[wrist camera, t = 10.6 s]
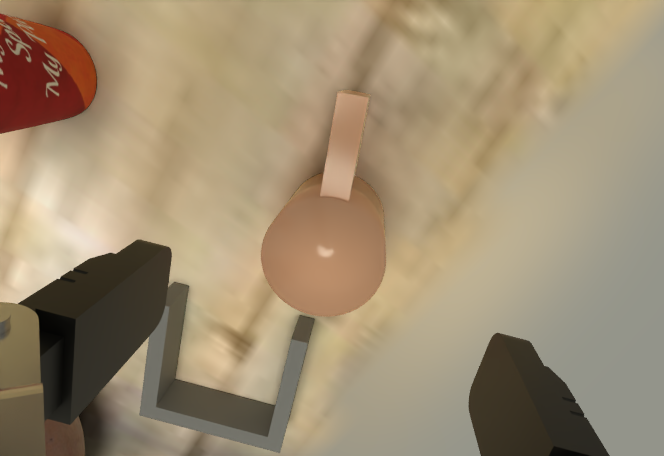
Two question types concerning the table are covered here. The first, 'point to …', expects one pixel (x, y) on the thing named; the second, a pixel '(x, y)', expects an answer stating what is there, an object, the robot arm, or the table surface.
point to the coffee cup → (41, 75)
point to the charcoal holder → (208, 404)
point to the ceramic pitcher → (64, 438)
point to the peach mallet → (330, 228)
